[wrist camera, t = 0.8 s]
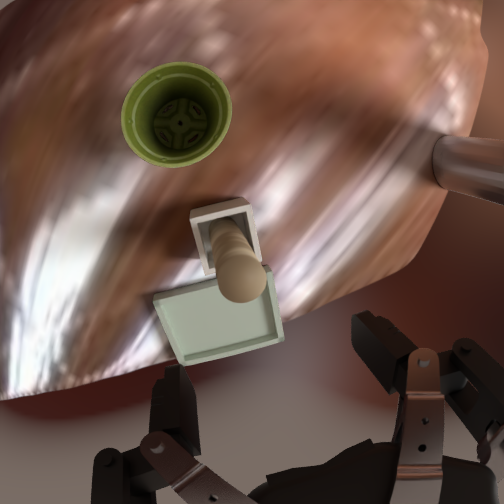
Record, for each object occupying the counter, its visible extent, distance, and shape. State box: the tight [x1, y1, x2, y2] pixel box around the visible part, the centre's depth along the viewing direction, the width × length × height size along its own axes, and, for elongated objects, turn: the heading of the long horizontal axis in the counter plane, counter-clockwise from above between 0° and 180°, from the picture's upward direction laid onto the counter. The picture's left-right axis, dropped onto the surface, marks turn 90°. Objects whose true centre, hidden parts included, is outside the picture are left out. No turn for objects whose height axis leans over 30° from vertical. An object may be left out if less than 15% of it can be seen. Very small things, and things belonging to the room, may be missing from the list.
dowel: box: [209, 216, 267, 303], centre depth 26 cm, size 3×3×14 cm
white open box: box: [190, 197, 262, 276], centre depth 31 cm, size 6×6×5 cm
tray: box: [152, 265, 284, 366], centre depth 36 cm, size 15×11×2 cm
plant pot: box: [121, 62, 232, 168], centre depth 24 cm, size 9×9×9 cm
